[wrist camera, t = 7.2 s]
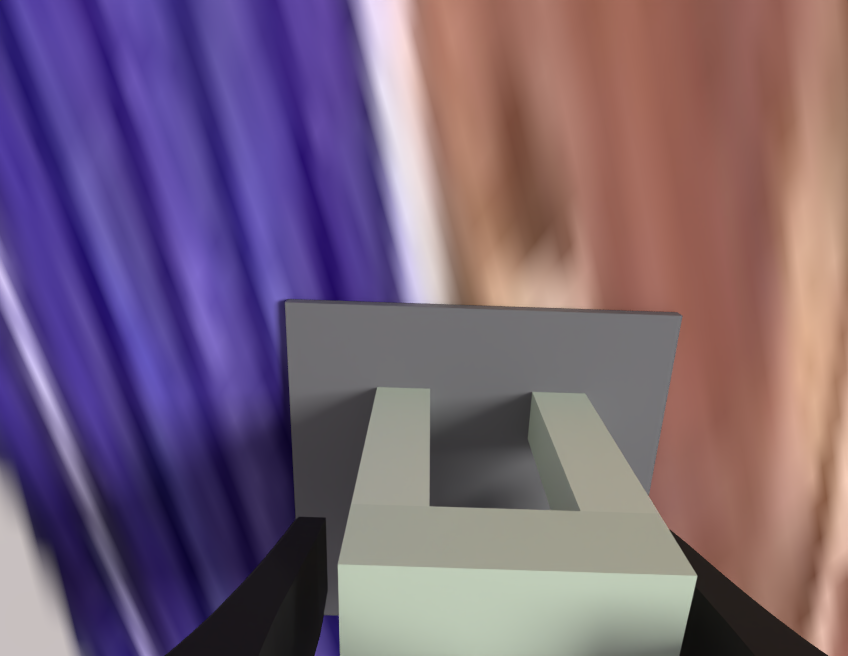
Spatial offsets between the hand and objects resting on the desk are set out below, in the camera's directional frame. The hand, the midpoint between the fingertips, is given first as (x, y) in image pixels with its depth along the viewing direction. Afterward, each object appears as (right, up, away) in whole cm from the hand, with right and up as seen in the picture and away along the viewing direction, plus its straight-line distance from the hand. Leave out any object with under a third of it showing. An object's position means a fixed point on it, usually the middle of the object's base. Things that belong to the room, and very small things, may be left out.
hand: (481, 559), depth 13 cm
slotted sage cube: (0, +1, +3) cm, 3 cm away
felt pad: (0, +1, +3) cm, 3 cm away
